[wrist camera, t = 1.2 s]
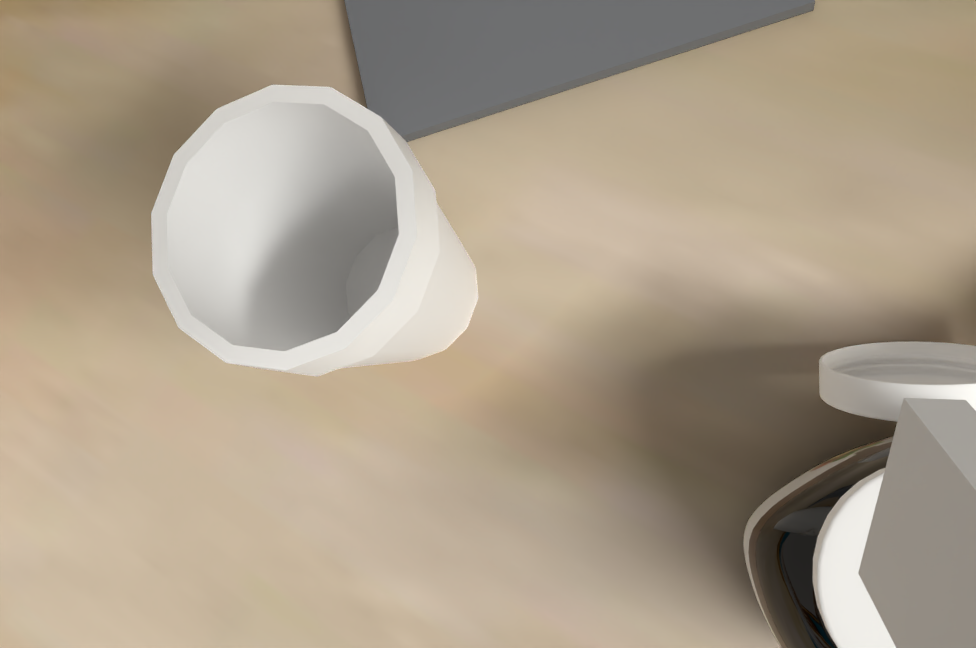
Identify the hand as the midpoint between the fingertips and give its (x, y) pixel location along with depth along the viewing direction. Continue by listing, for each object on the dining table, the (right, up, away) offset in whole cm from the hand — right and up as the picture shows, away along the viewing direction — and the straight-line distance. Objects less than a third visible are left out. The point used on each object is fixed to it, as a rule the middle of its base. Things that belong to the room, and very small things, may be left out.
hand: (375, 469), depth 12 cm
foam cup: (-2, +3, +30) cm, 31 cm away
